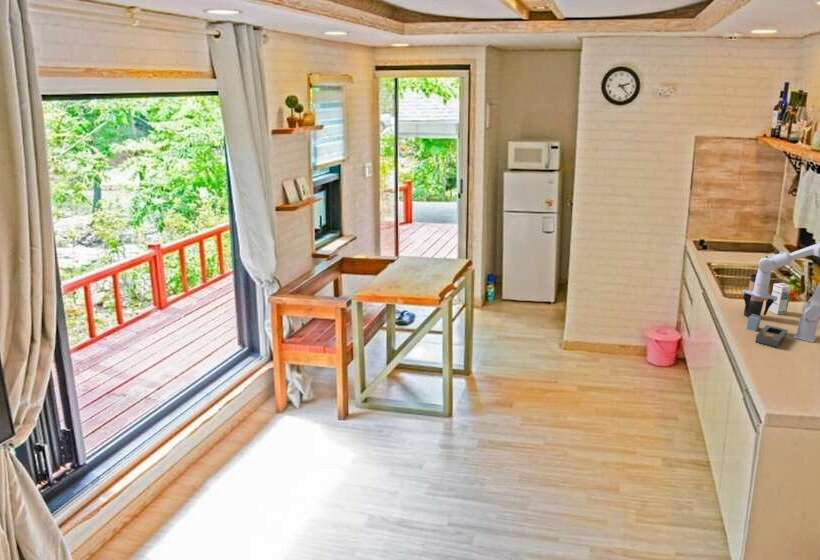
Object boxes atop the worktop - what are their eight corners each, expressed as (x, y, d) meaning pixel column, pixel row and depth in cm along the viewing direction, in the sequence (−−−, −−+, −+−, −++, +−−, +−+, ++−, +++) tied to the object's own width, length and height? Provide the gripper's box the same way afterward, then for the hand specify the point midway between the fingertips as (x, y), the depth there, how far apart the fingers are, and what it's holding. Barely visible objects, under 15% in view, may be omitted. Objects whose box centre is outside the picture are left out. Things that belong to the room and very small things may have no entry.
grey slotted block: (764, 332, 331) (766, 323, 330) (786, 337, 326) (788, 328, 324) (755, 342, 317) (756, 333, 316) (777, 348, 312) (779, 339, 311)
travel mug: (763, 317, 351) (771, 277, 345) (754, 319, 347) (762, 279, 341) (748, 312, 357) (756, 273, 351) (739, 314, 353) (747, 275, 347)
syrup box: (777, 314, 356) (783, 286, 352) (767, 310, 362) (773, 282, 357) (786, 314, 358) (792, 285, 354) (776, 310, 363) (782, 282, 359)
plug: (749, 326, 338) (752, 313, 337) (758, 328, 336) (761, 316, 334) (746, 329, 334) (748, 317, 332) (755, 331, 331) (758, 319, 330)
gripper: (742, 282, 330) (736, 310, 334) (777, 289, 321) (770, 318, 325) (746, 279, 335) (741, 307, 339) (780, 286, 327) (774, 314, 331)
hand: (755, 312), depth 333 cm, fingers open, 7 cm apart
